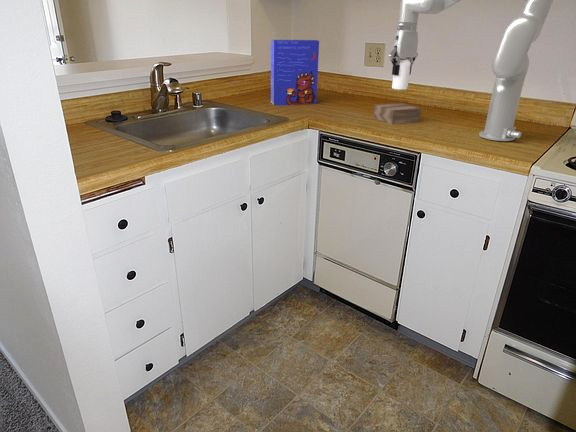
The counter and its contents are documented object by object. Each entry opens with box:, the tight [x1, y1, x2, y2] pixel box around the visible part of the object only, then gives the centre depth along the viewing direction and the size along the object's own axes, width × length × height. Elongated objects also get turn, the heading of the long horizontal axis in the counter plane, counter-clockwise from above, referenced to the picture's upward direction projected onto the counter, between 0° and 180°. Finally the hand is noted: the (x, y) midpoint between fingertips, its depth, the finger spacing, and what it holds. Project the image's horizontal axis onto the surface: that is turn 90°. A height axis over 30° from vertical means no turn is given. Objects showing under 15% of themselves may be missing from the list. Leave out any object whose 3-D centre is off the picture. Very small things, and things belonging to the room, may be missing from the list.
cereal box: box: [270, 39, 320, 106], centre depth 210 cm, size 22×6×30 cm, turn 105°
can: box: [391, 58, 411, 91], centre depth 181 cm, size 6×6×12 cm
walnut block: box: [372, 102, 422, 125], centre depth 187 cm, size 14×14×6 cm
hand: (401, 74), depth 180 cm, fingers closed on can, 6 cm apart
